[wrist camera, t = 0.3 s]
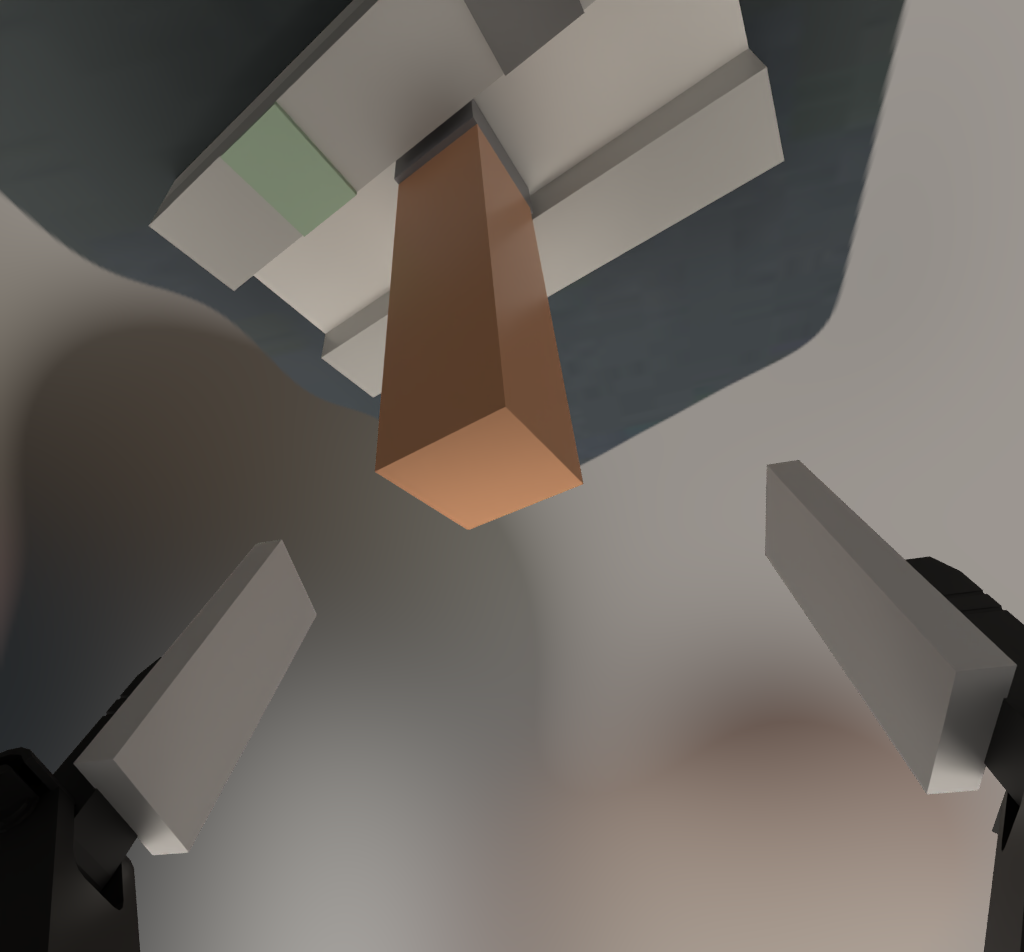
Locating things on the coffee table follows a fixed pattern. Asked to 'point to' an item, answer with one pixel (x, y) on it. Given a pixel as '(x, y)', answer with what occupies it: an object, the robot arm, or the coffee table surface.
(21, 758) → the robot arm
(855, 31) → the coffee table surface
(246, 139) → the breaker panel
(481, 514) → the handle
